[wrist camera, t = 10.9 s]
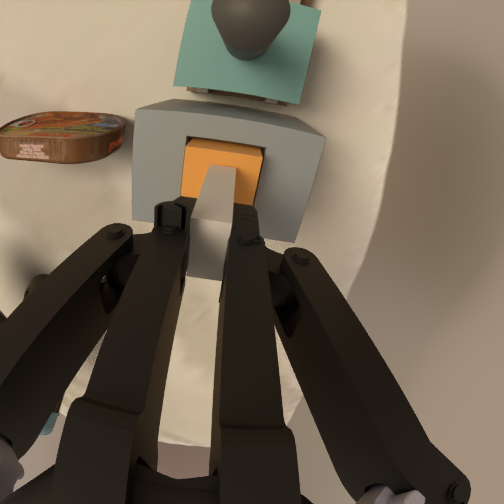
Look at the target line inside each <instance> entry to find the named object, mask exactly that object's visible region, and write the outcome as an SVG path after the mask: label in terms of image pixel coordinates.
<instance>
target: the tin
mask: <svg viewBox="0 0 504 504" xmlns="http://www.w3.org/2000/svg"><path fill="white" fill-rule="evenodd" d="M125 125H126V121H125V119H123V118H122V117H120V116H117V115H112V114H105V113H89V112H43V113H36V114H32V115H28V116H24V117H21V118H19V119H16V120H13V121H11V122H9V123H7V124H5V125H4V126H2V127H1V128H0V153H1V155H2V156H3V157H4V158H7V159H15V160H27V161H38V162H49V163H59V164H79V163H86V162H92V161H96V160H100V159H103V158H105V157H107V156H109V155H110V154H112V153H113V152H115V151H116V150H118V149H119V148H120V147H121V146H122V143H123V135H124V126H125Z"/></svg>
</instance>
